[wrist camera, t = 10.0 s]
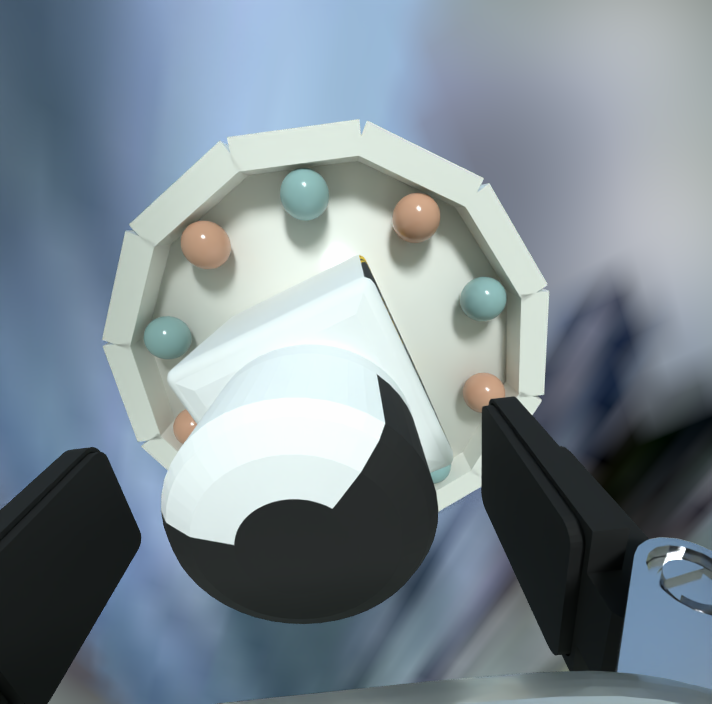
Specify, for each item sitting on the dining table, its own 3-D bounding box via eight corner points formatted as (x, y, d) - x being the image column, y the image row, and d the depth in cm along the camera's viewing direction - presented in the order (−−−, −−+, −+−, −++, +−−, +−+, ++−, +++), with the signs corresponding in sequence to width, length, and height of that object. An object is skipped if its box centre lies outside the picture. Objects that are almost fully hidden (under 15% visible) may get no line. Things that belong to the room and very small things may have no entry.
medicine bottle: (421, 380, 20) (520, 605, 8) (299, 433, 21) (238, 700, 9) (361, 251, 17) (386, 319, 6) (227, 318, 18) (32, 483, 7)
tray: (77, 168, 17) (23, 159, 14) (530, 107, 16) (568, 85, 14) (195, 521, 24) (175, 563, 21) (519, 486, 23) (542, 523, 20)
